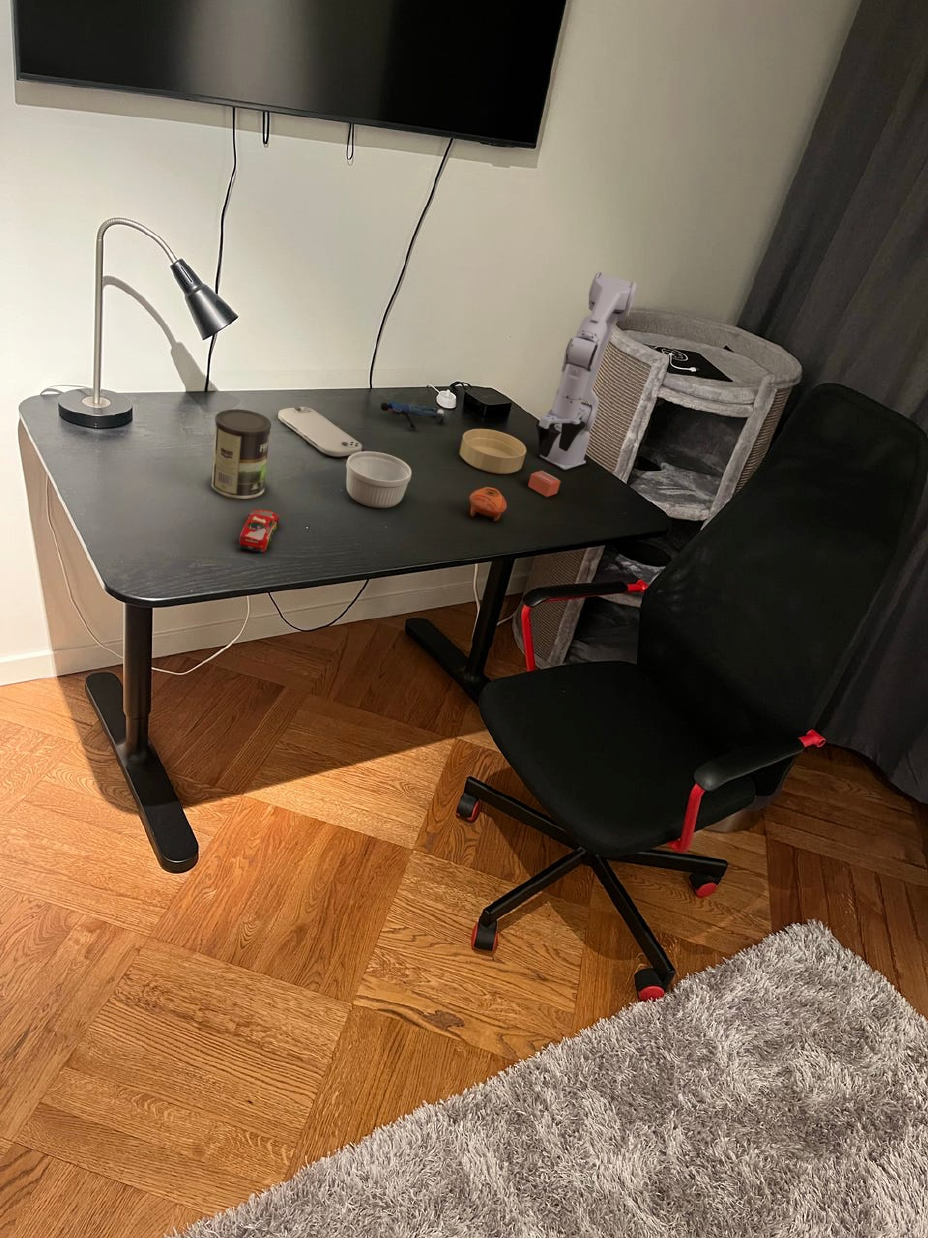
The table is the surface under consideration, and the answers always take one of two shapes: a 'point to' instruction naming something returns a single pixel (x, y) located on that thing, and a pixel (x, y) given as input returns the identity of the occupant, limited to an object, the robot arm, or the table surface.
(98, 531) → the table surface
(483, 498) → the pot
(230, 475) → the coffee can
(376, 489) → the ramekin
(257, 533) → the race car
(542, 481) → the orange-red block
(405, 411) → the person figurine
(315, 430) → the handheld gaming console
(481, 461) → the bowl
